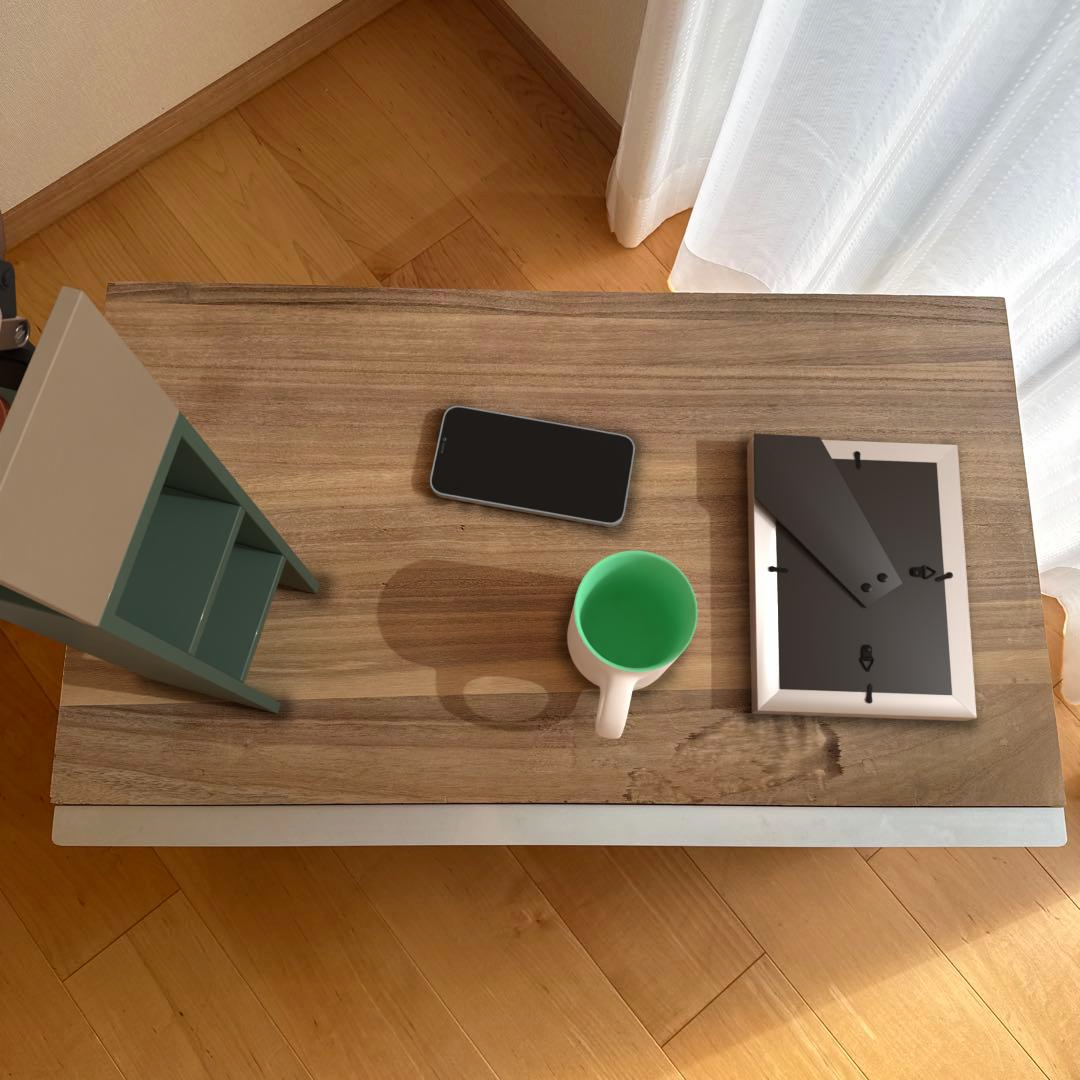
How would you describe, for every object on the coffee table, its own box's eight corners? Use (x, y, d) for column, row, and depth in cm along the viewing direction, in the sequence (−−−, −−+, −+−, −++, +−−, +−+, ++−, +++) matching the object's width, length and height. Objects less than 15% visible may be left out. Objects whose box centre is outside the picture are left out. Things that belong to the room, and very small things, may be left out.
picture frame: (746, 446, 85) (751, 713, 80) (754, 433, 82) (759, 709, 77) (947, 453, 85) (965, 721, 80) (961, 441, 82) (981, 717, 77)
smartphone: (622, 527, 82) (427, 492, 82) (621, 530, 83) (427, 496, 83) (637, 436, 84) (446, 402, 84) (635, 440, 85) (446, 407, 85)
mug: (662, 753, 79) (684, 742, 69) (552, 737, 79) (557, 723, 69) (680, 592, 82) (703, 559, 72) (575, 577, 82) (582, 542, 72)
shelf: (147, 678, 79) (-324, 486, 35) (193, 550, 82) (-191, 219, 38) (277, 713, 79) (-31, 565, 35) (320, 584, 82) (83, 289, 37)
